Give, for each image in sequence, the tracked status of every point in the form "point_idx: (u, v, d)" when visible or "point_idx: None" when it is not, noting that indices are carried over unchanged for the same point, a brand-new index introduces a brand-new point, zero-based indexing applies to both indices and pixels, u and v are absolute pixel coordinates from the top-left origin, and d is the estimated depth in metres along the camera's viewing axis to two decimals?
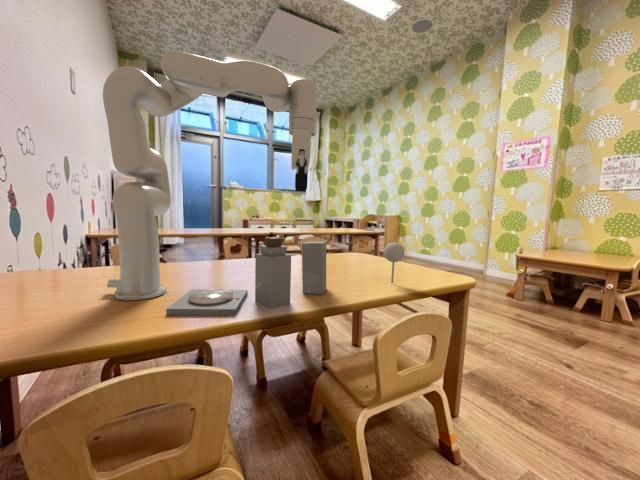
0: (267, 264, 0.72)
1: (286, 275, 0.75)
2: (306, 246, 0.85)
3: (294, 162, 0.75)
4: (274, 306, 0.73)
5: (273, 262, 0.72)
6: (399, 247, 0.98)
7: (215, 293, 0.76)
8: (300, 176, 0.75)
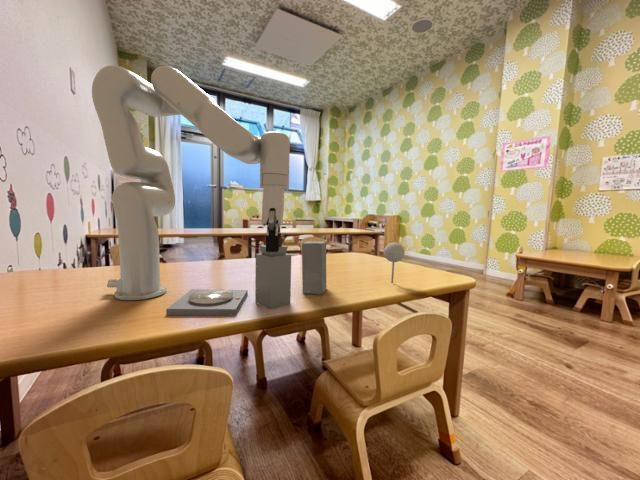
0: (267, 264, 0.72)
1: (286, 275, 0.75)
2: (306, 246, 0.85)
3: (264, 222, 0.70)
4: (274, 306, 0.73)
5: (273, 261, 0.72)
6: (399, 247, 0.98)
7: (215, 293, 0.76)
8: (270, 239, 0.70)
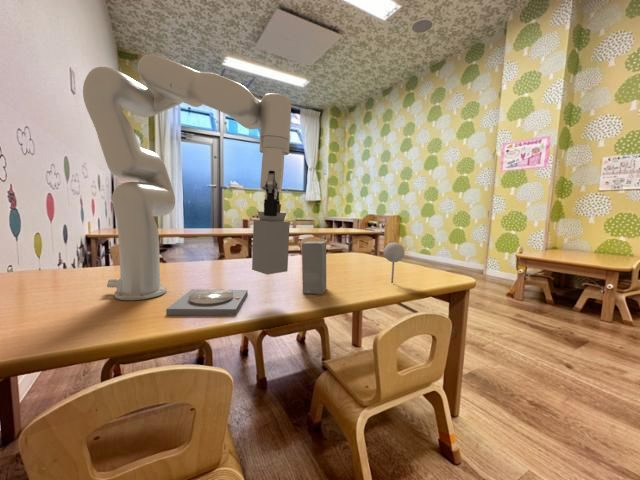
0: (265, 229, 0.71)
1: (284, 242, 0.74)
2: (306, 246, 0.85)
3: (263, 185, 0.69)
4: (271, 272, 0.73)
5: (271, 226, 0.71)
6: (399, 247, 0.98)
7: (215, 293, 0.76)
8: (269, 203, 0.69)
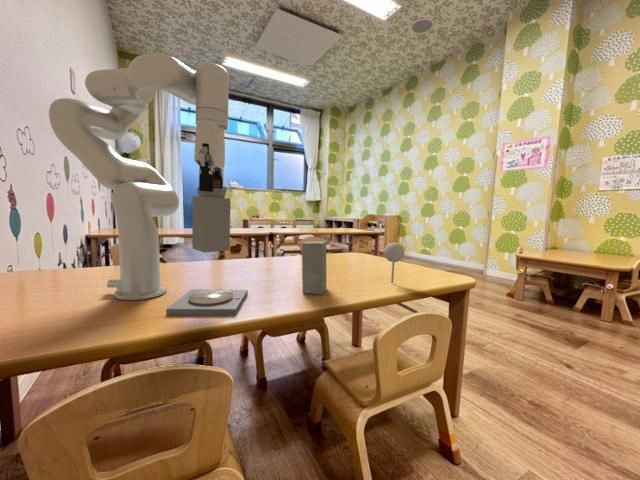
0: (202, 205, 0.68)
1: (224, 219, 0.72)
2: (306, 246, 0.85)
3: (197, 158, 0.66)
4: (209, 250, 0.70)
5: (208, 202, 0.68)
6: (399, 247, 0.98)
7: (215, 293, 0.76)
8: (203, 177, 0.66)
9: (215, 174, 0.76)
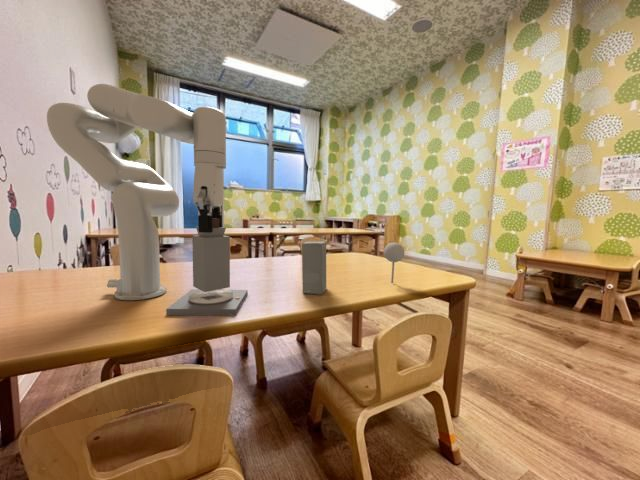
0: (201, 245, 0.69)
1: (224, 257, 0.73)
2: (306, 246, 0.85)
3: (196, 201, 0.67)
4: (210, 289, 0.71)
5: (207, 242, 0.69)
6: (399, 247, 0.98)
7: (215, 293, 0.76)
8: (202, 219, 0.67)
9: (214, 211, 0.76)
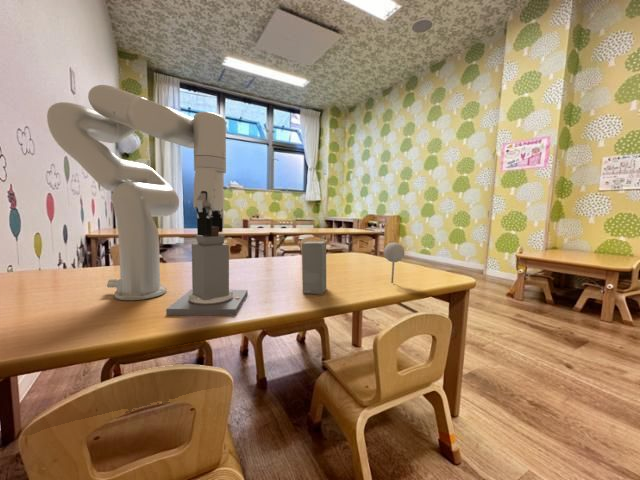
0: (201, 254, 0.70)
1: (223, 265, 0.73)
2: (306, 246, 0.85)
3: (196, 206, 0.67)
4: (209, 297, 0.71)
5: (207, 251, 0.69)
6: (399, 247, 0.98)
7: None
8: (201, 222, 0.67)
9: (215, 214, 0.77)
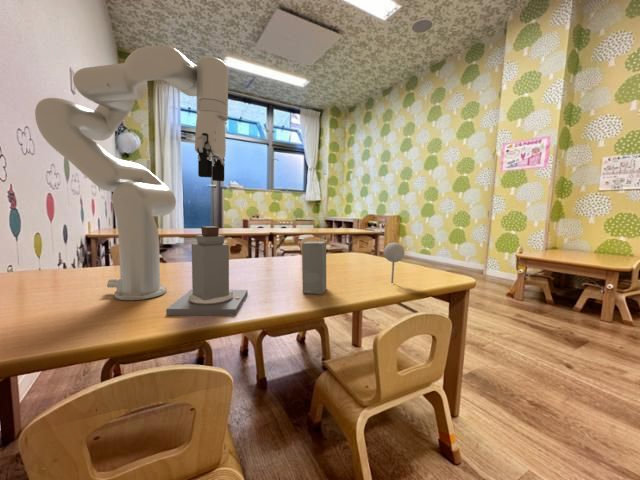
0: (201, 254, 0.70)
1: (223, 265, 0.73)
2: (306, 246, 0.85)
3: (197, 147, 0.69)
4: (209, 297, 0.71)
5: (206, 251, 0.69)
6: (399, 247, 0.98)
7: None
8: (202, 163, 0.69)
9: (217, 163, 0.79)
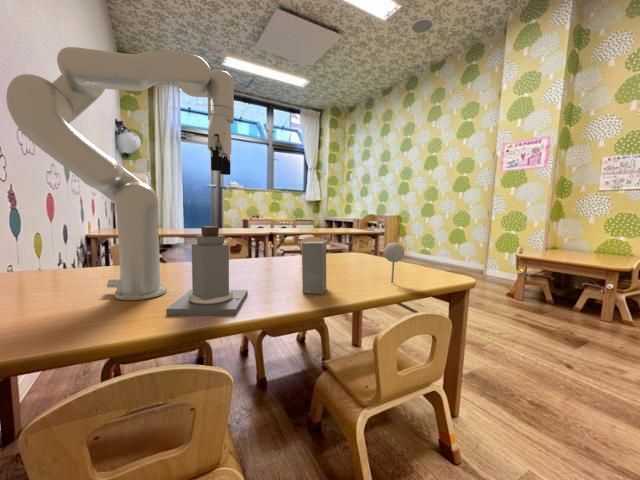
0: (201, 254, 0.70)
1: (223, 265, 0.73)
2: (306, 246, 0.85)
3: (210, 146, 0.83)
4: (209, 297, 0.71)
5: (206, 251, 0.69)
6: (399, 247, 0.98)
7: None
8: (214, 159, 0.82)
9: (224, 159, 0.93)
